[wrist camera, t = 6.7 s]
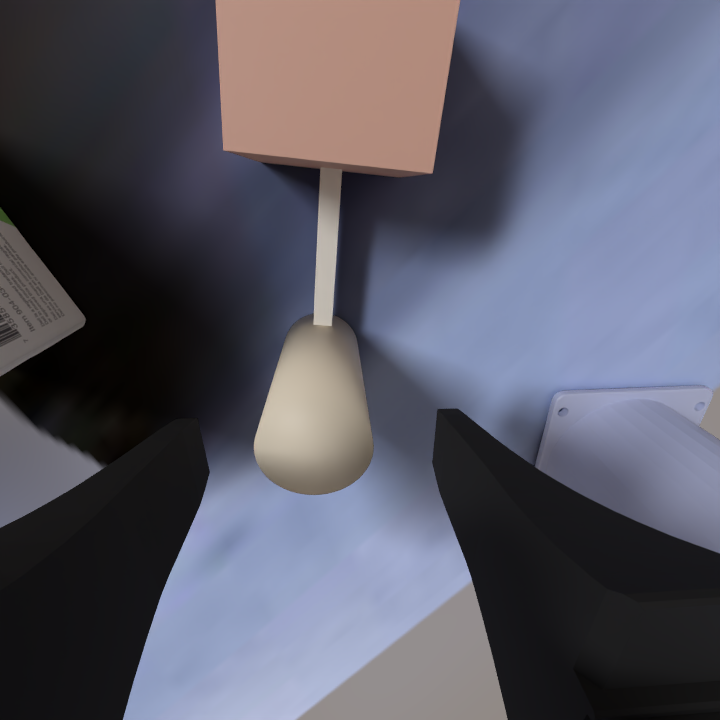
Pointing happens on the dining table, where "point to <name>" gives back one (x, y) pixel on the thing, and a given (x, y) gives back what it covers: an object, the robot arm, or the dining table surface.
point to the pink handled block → (329, 183)
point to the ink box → (29, 301)
